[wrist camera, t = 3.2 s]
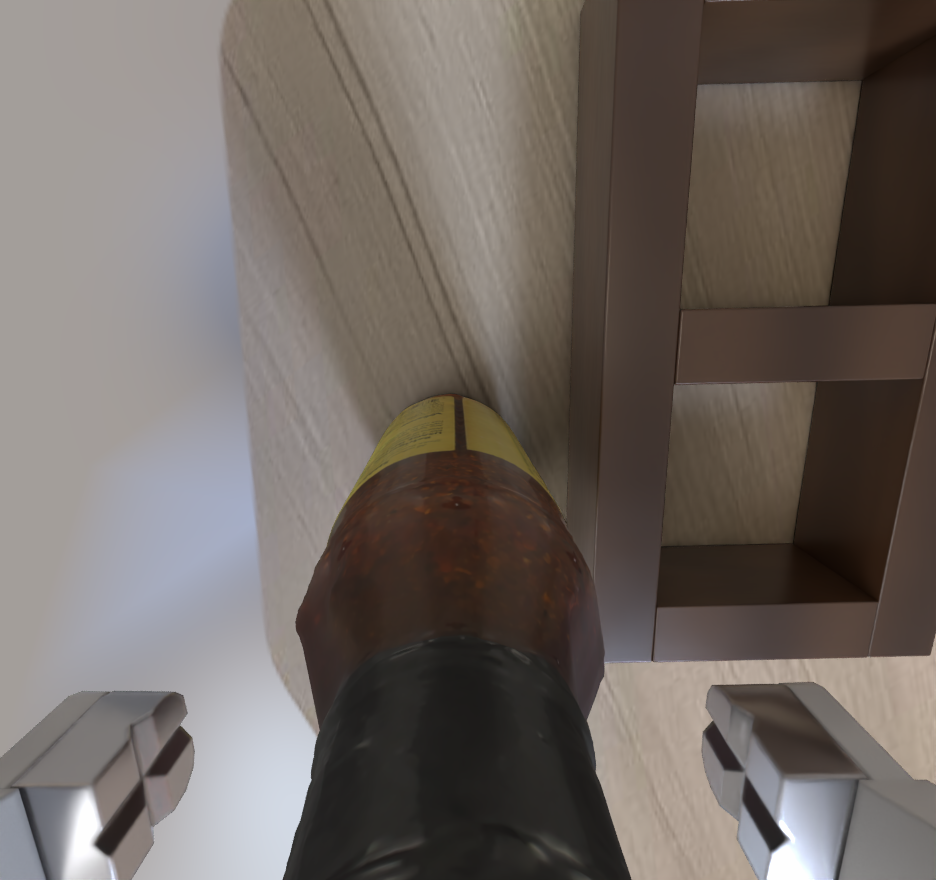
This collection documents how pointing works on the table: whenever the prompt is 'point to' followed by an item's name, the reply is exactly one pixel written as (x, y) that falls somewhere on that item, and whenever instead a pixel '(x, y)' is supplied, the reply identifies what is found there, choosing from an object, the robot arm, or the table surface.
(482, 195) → the table surface
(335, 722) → the sauce bottle
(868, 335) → the hole block
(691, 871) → the table surface
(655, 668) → the table surface
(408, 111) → the table surface
